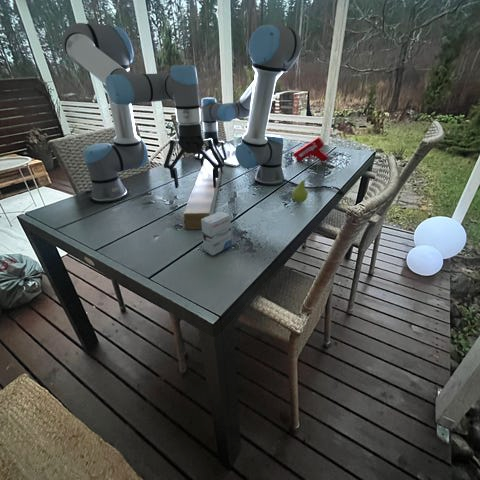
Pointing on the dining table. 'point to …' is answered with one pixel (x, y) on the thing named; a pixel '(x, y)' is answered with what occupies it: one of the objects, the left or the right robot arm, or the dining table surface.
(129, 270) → the dining table surface
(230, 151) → the relief map
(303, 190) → the fruit
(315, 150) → the toy gun
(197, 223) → the slab
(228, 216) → the ink box
